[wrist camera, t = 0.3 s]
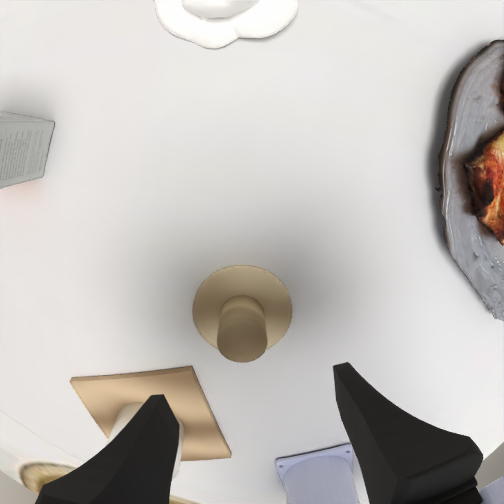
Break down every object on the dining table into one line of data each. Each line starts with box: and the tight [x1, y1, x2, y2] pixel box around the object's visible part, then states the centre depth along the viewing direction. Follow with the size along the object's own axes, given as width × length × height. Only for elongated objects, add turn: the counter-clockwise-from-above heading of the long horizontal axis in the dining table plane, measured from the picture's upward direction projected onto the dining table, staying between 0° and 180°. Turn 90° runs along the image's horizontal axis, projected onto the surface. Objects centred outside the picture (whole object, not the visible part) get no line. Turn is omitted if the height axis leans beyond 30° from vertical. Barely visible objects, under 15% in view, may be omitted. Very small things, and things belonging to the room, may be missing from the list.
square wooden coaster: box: [69, 366, 231, 461], centre depth 26 cm, size 12×12×1 cm
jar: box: [106, 402, 185, 479], centre depth 23 cm, size 6×6×4 cm
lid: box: [193, 265, 292, 363], centre depth 21 cm, size 7×7×4 cm
